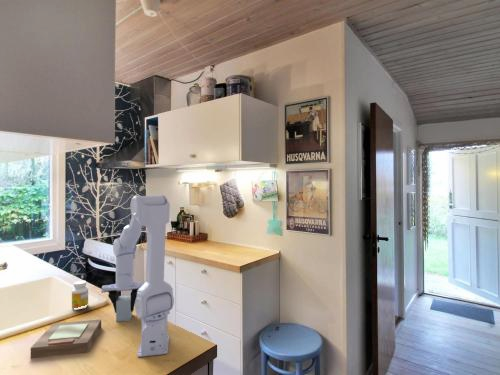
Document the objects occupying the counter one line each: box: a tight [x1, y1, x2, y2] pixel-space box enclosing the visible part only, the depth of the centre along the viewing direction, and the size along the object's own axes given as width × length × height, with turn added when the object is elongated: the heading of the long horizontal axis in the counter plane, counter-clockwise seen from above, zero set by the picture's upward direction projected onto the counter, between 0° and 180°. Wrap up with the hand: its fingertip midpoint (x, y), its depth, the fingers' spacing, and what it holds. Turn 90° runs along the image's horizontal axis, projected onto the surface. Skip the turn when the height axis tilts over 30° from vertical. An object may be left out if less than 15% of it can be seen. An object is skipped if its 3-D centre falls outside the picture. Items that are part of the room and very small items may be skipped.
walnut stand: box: [30, 318, 102, 359], centre depth 88 cm, size 14×14×3 cm
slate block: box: [115, 295, 133, 323], centre depth 103 cm, size 4×4×7 cm
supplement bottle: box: [71, 280, 89, 310], centre depth 111 cm, size 5×5×10 cm
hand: (124, 311), depth 103 cm, fingers closed on slate block, 4 cm apart
